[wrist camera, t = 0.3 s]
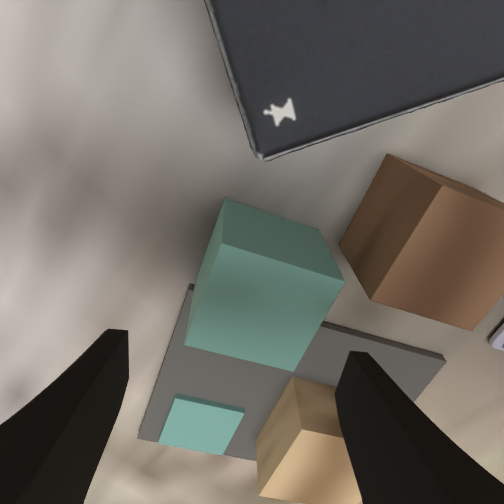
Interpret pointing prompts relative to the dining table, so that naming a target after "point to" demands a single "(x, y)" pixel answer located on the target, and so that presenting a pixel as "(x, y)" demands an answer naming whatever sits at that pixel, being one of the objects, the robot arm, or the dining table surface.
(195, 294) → the teal block
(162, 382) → the placemat
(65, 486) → the robot arm
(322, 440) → the oak block
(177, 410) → the swatch
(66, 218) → the dining table surface
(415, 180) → the walnut block
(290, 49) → the small box
